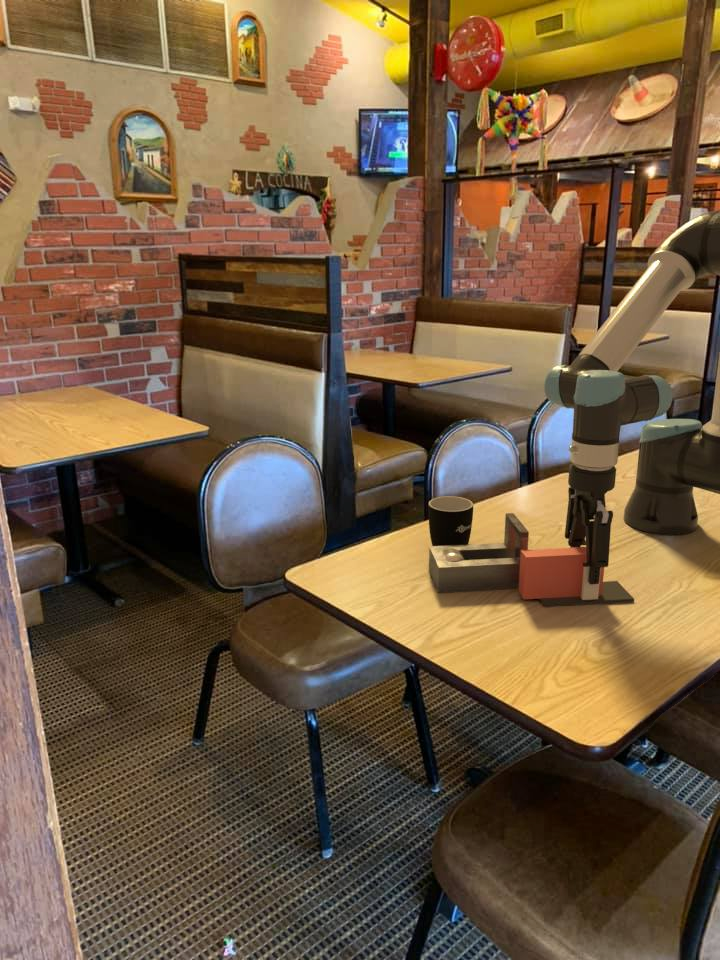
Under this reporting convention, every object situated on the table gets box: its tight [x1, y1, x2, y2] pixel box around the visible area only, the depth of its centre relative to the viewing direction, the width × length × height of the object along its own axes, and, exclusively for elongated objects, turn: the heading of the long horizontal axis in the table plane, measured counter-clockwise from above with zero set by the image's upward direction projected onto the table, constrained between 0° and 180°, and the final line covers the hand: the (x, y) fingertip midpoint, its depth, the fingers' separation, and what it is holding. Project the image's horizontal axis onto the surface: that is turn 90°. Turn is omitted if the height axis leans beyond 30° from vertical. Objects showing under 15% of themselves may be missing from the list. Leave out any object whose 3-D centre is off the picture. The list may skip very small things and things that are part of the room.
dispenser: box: [428, 512, 530, 594], centre depth 133 cm, size 16×10×11 cm, turn 95°
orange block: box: [518, 546, 605, 600], centre depth 126 cm, size 14×3×8 cm, turn 95°
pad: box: [538, 580, 635, 608], centre depth 128 cm, size 16×7×1 cm, turn 95°
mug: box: [427, 495, 474, 546], centre depth 147 cm, size 12×9×10 cm
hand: (581, 589), depth 127 cm, fingers open, 6 cm apart
